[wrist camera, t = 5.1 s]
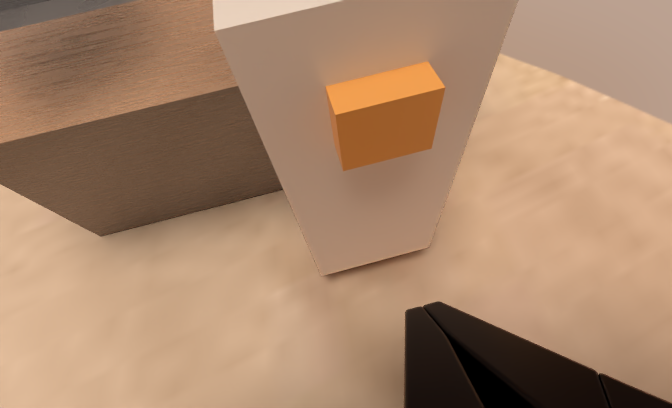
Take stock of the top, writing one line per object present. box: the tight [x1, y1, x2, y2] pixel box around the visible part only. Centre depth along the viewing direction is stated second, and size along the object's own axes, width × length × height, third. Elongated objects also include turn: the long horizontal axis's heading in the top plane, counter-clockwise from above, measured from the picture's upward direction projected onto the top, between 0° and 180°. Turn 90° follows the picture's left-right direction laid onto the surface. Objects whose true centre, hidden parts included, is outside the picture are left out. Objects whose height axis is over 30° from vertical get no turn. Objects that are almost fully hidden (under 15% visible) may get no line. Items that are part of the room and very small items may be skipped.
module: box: [213, 0, 518, 276], centre depth 10 cm, size 5×5×11 cm
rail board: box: [0, 0, 283, 236], centre depth 12 cm, size 6×18×16 cm, turn 104°
